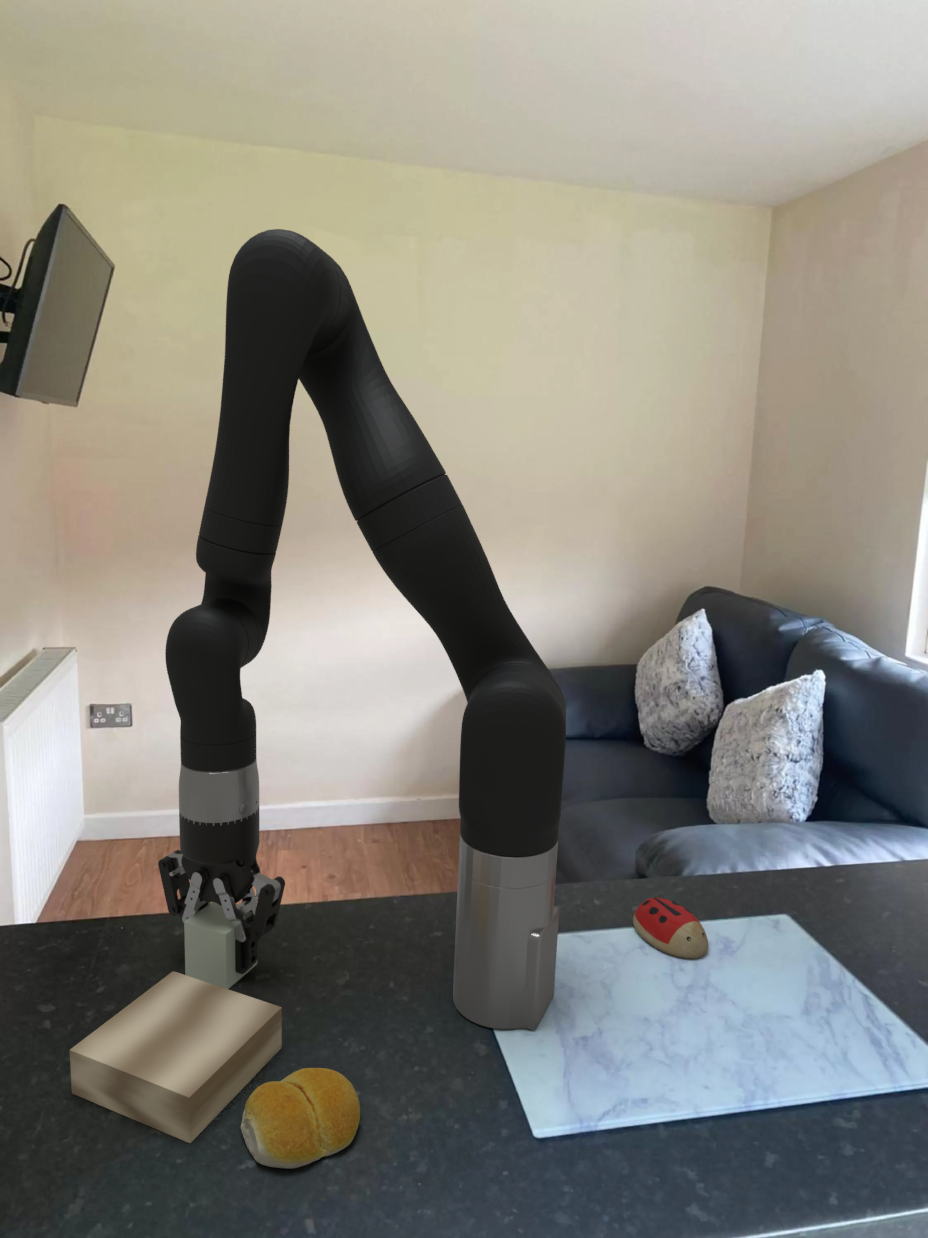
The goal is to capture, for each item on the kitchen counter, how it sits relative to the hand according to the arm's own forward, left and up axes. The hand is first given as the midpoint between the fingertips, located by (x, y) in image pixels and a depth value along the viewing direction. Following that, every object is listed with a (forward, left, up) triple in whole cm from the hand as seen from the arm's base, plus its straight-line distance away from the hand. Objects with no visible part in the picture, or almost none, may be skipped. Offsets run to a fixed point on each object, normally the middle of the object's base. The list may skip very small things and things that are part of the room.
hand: (221, 961), depth 88 cm
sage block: (0, 0, -1) cm, 1 cm away
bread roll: (-19, +14, -1) cm, 24 cm away
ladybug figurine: (-40, -27, -1) cm, 48 cm away
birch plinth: (-6, +13, -1) cm, 14 cm away
